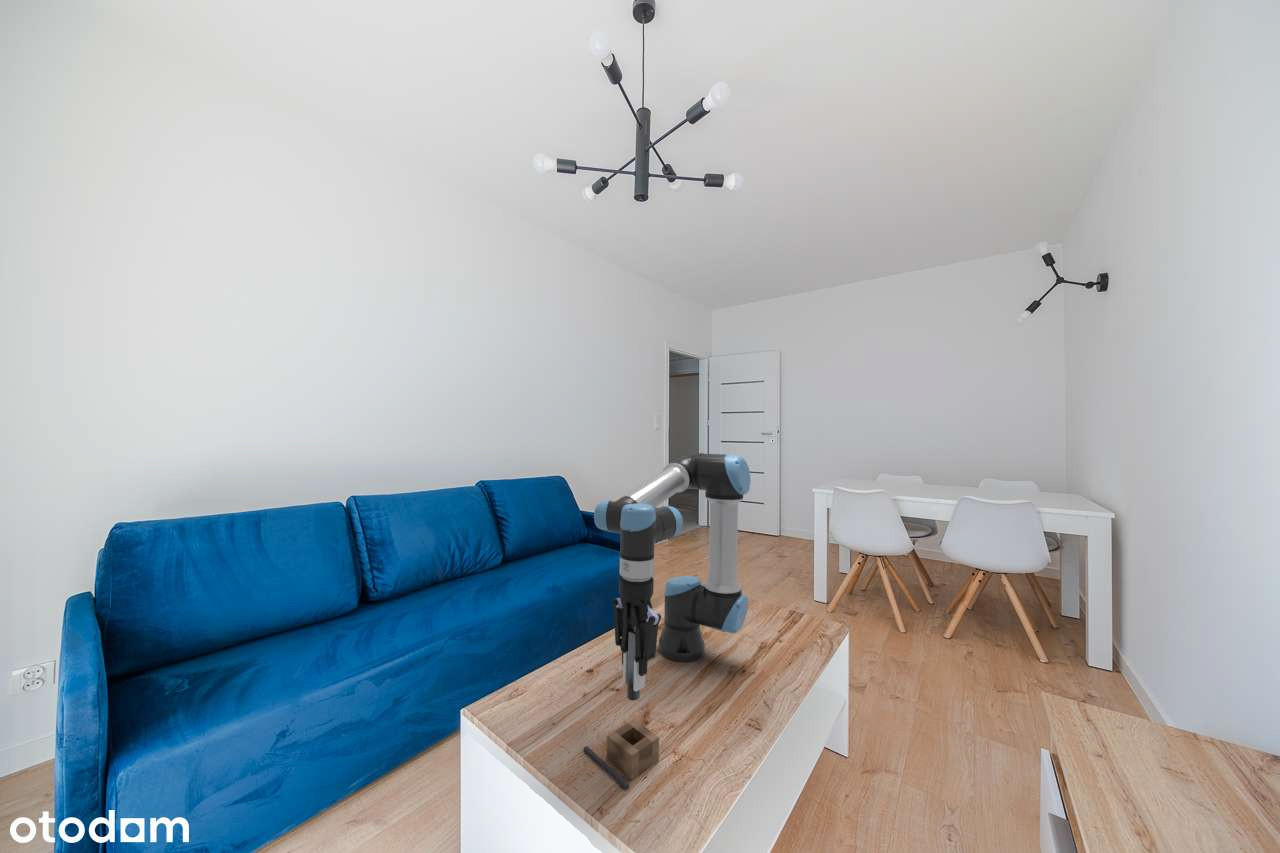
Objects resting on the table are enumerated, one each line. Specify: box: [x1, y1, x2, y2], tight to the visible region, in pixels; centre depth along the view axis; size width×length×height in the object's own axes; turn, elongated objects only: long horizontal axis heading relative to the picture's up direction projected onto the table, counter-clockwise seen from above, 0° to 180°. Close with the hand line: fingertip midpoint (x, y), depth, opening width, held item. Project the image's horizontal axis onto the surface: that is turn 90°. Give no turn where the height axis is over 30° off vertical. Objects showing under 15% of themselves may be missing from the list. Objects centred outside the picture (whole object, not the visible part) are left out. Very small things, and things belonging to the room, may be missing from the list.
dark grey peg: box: [626, 629, 641, 701], centre depth 94 cm, size 3×3×14 cm
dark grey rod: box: [583, 745, 630, 791], centre depth 91 cm, size 14×1×1 cm, turn 44°
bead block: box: [606, 718, 660, 781], centre depth 94 cm, size 8×8×5 cm
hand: (633, 684), depth 94 cm, fingers closed on dark grey peg, 3 cm apart
